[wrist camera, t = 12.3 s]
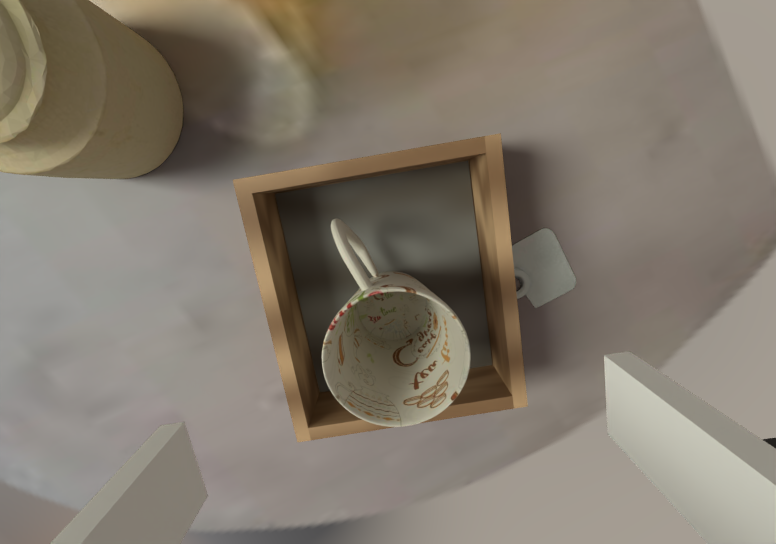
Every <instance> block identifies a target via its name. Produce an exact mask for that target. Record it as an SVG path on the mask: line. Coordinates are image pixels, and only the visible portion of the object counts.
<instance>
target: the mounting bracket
mask: <svg viewBox="0 0 776 544" xmlns="http://www.w3.org/2000/svg"><path fill="white" fill-rule="evenodd" d="M512 253H513V263H514V273H515V277H516V278H518V279H519V280H520V289H519V290H518V291H516V294H517V299H519V298H521V297H523V296H524V295H526V296H527V297H528V299H529V300H530V302H531V303H532V304H533V306H534V307H535V308H538V307H540V306H542V305H544V304H546V303H548V302H549V301H551V300H553V299H555V298H557V297H559V296H561V295H563V294H565V293H567V292H568V291H570V290H572V289H574V287H575V285H576V278H575V275H574V273H573V271H572V269H571V267H570V265H569V263H568V261H567V259H566V257H565V254H564V252H563V250H562V248H561V246H560V244H559V242H558V240H557V238H556V236H555V234H554V233H553V232H552V231H551V230H550V229H547V228H542V229H541V230H539V231H537V232H535V233H533V234H532V235H530V236H528V237H526V238H524V239H523V240H521V241H519V242H517V243H516V244H514V245H512Z"/></svg>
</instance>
